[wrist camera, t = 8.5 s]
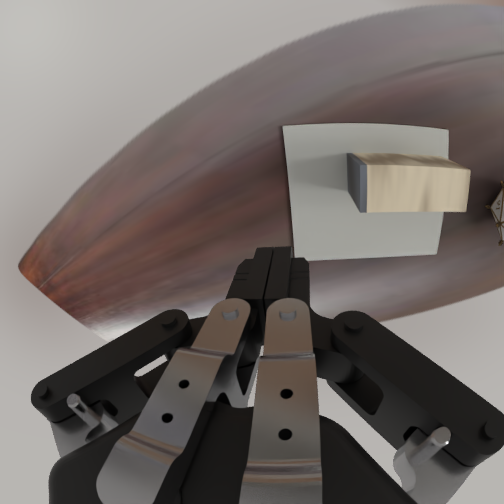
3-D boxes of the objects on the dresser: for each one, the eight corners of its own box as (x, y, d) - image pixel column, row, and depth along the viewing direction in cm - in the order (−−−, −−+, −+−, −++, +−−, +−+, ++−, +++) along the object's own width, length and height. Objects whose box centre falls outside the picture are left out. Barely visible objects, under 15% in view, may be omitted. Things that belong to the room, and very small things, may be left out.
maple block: (346, 153, 24) (441, 156, 22) (347, 191, 26) (439, 191, 24) (359, 165, 19) (470, 170, 17) (359, 212, 21) (465, 212, 19)
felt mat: (447, 129, 20) (448, 130, 20) (435, 253, 28) (436, 254, 27) (282, 126, 24) (282, 126, 24) (295, 259, 31) (295, 261, 31)
